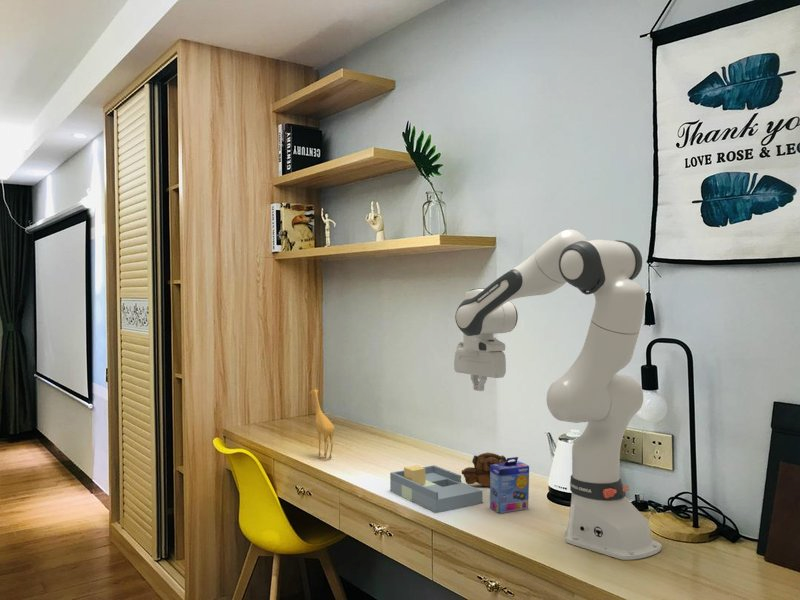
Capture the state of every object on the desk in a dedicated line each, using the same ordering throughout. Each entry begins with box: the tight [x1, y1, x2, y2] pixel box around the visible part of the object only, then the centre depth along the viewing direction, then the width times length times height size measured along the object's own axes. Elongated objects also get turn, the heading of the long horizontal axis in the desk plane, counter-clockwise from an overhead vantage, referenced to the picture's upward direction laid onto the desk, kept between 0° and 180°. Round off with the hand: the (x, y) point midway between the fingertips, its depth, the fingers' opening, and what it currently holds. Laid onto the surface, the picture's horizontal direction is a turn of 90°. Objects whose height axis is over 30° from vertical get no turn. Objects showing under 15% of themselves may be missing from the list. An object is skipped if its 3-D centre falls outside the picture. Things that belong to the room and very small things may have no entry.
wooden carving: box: [461, 452, 507, 487], centre depth 204 cm, size 16×5×10 cm, turn 99°
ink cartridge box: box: [489, 456, 530, 514], centre depth 182 cm, size 10×6×14 cm, turn 113°
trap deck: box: [389, 464, 483, 514], centre depth 193 cm, size 24×16×6 cm, turn 32°
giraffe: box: [309, 387, 336, 460], centre depth 241 cm, size 16×4×25 cm, turn 35°
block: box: [403, 464, 426, 484], centre depth 194 cm, size 4×4×5 cm
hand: (478, 390), depth 195 cm, fingers closed
